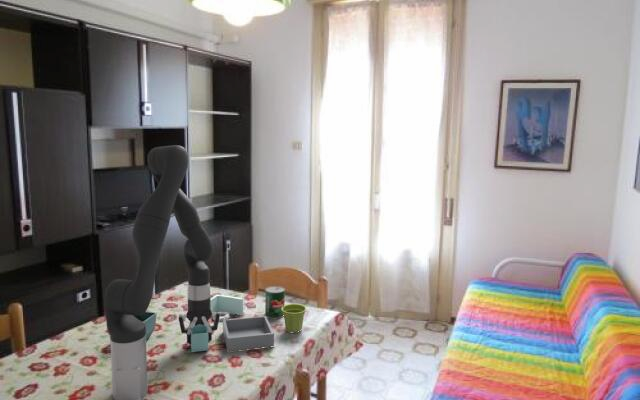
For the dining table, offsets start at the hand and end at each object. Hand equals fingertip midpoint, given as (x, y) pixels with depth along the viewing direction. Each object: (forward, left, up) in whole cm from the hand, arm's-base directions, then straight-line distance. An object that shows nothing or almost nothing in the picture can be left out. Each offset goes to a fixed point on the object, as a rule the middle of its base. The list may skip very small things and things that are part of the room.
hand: (199, 342), depth 159 cm
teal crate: (0, 0, -1) cm, 1 cm away
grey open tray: (+2, -17, -2) cm, 17 cm away
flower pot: (+11, +20, -2) cm, 23 cm away
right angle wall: (+24, -10, -3) cm, 26 cm away
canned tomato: (+22, -31, -2) cm, 38 cm away
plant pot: (+6, -35, -2) cm, 36 cm away
